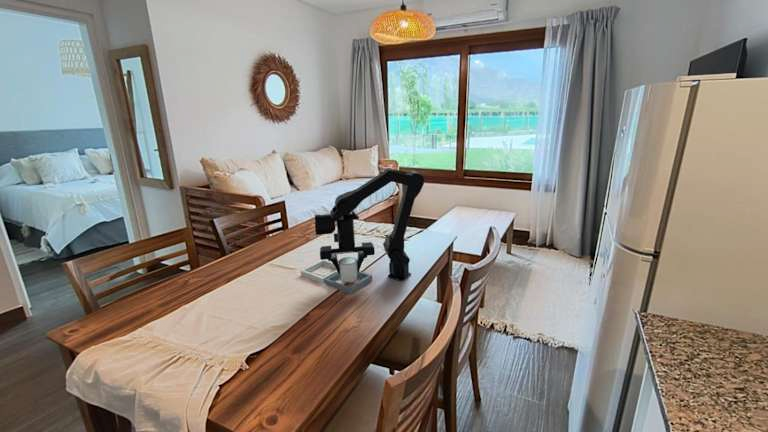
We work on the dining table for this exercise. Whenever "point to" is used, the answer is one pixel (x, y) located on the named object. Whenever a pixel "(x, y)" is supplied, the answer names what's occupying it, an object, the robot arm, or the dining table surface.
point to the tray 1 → (307, 270)
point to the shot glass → (348, 269)
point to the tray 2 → (347, 289)
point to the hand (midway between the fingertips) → (348, 272)
